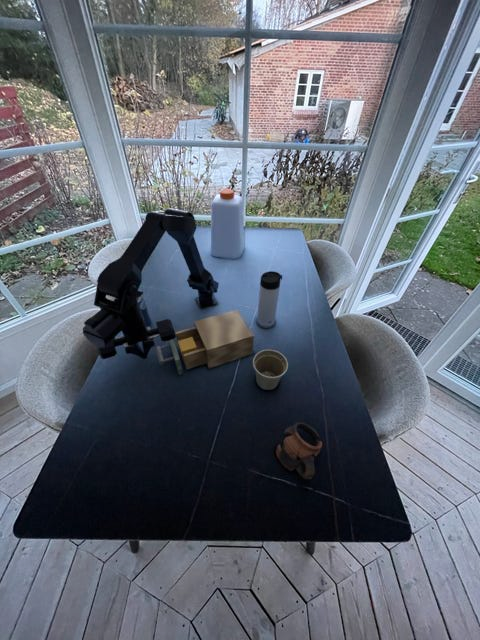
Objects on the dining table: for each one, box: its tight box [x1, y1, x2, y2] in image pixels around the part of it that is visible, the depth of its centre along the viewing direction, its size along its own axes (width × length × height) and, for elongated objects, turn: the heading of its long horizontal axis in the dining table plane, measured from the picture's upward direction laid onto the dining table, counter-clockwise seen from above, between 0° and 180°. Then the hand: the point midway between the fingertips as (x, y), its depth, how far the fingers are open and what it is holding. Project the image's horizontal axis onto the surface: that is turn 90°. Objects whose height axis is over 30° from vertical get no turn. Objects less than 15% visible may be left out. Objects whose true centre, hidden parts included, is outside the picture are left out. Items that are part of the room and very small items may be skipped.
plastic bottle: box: [210, 188, 245, 260], centre depth 121 cm, size 15×15×28 cm
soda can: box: [137, 295, 152, 328], centre depth 88 cm, size 7×7×12 cm
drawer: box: [155, 326, 208, 376], centre depth 79 cm, size 18×11×7 cm, turn 114°
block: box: [177, 337, 197, 362], centre depth 79 cm, size 4×4×4 cm
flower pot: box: [252, 349, 289, 391], centre depth 74 cm, size 9×9×9 cm
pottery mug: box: [275, 421, 323, 480], centre depth 60 cm, size 12×10×8 cm
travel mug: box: [256, 270, 283, 329], centre depth 88 cm, size 6×7×20 cm
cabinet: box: [193, 309, 255, 369], centre depth 83 cm, size 15×13×9 cm
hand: (145, 357), depth 75 cm, fingers closed
